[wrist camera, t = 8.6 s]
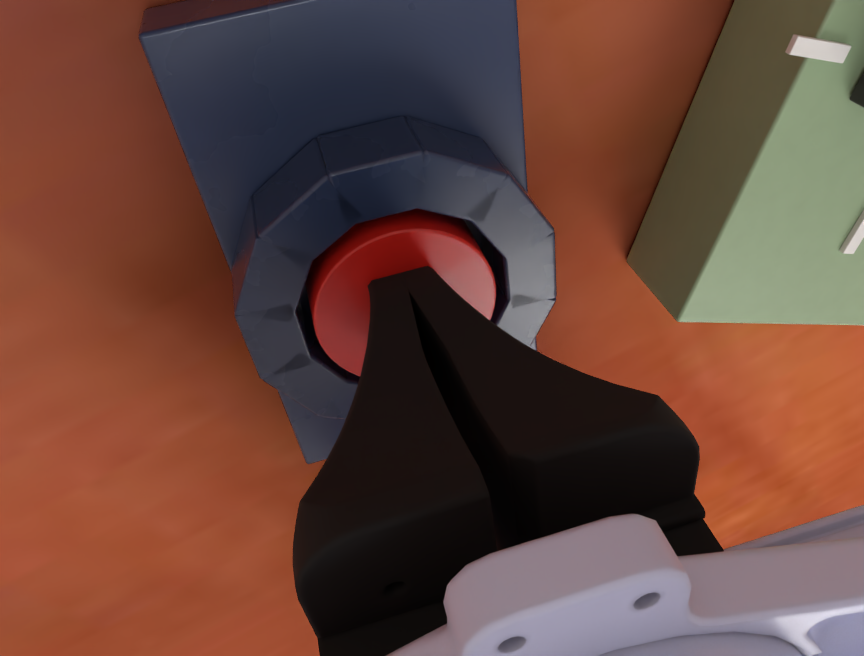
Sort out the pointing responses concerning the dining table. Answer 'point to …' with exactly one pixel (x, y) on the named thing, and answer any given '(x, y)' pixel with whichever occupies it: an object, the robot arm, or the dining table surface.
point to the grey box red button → (348, 157)
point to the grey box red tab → (858, 92)
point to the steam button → (387, 255)
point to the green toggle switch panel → (766, 175)
